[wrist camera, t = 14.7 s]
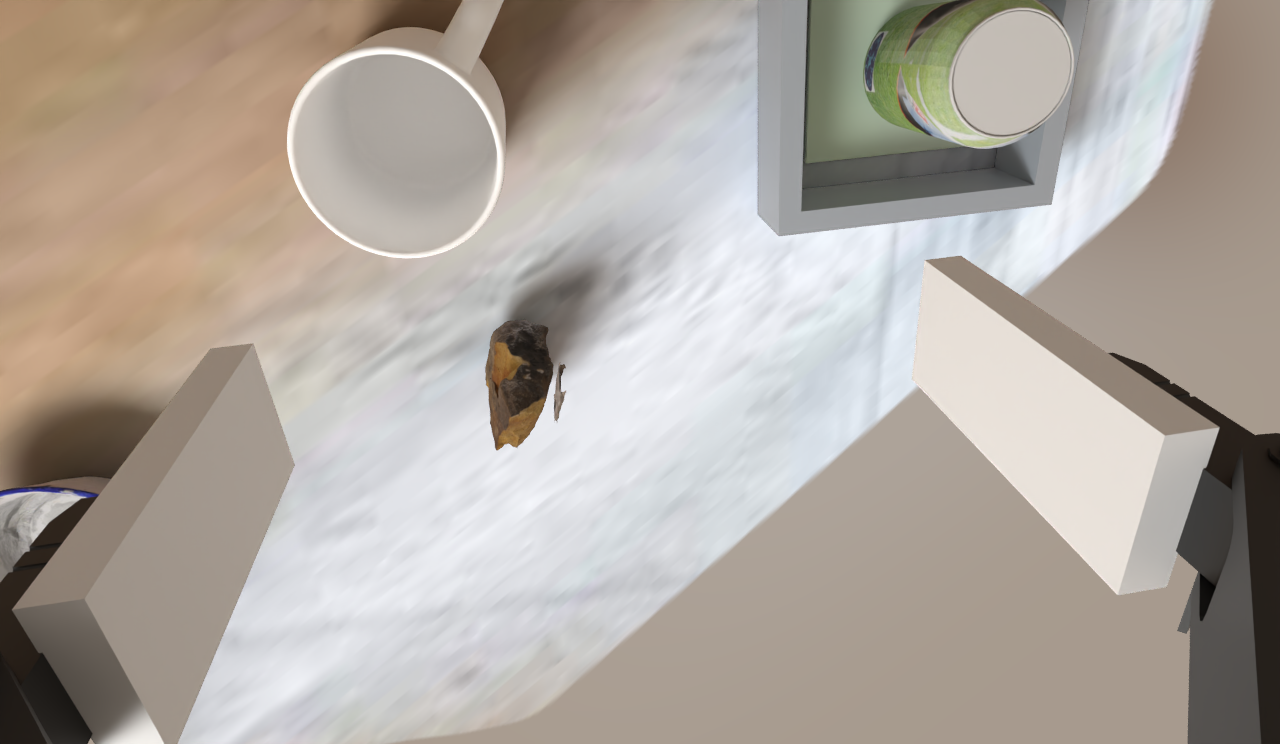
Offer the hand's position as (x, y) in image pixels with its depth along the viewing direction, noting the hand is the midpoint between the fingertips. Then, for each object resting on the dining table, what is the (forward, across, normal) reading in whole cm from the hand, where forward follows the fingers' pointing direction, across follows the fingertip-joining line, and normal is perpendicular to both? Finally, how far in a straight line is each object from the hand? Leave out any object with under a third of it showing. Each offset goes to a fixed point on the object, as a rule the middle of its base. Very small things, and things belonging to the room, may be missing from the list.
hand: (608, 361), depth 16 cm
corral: (+29, +19, +1) cm, 34 cm away
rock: (+29, -3, -12) cm, 32 cm away
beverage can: (+28, +19, +1) cm, 34 cm away
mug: (+29, -5, +2) cm, 29 cm away
